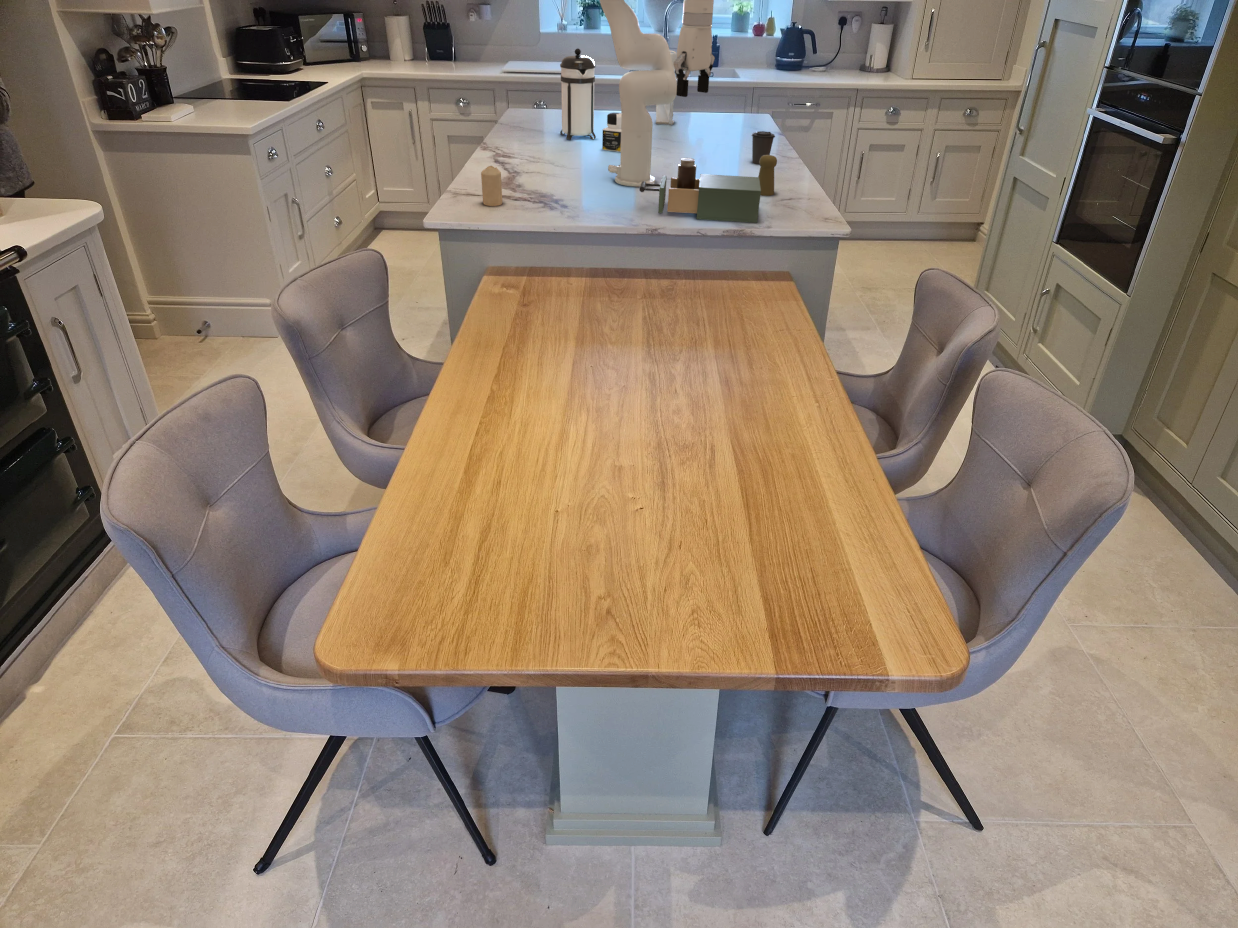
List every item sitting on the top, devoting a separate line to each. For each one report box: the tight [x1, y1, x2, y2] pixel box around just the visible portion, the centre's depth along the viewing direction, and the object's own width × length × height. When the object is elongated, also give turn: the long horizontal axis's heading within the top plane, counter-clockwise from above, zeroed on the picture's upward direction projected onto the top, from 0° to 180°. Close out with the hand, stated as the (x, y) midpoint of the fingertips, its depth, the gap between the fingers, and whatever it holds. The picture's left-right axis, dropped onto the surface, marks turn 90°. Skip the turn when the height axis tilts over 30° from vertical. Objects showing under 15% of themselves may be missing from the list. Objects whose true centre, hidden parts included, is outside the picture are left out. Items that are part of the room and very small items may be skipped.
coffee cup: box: [751, 130, 776, 166], centre depth 277 cm, size 8×8×10 cm
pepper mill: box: [676, 157, 697, 189], centre depth 225 cm, size 5×5×12 cm
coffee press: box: [559, 48, 597, 141], centre depth 299 cm, size 17×16×30 cm
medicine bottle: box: [601, 112, 621, 153], centre depth 287 cm, size 7×7×12 cm
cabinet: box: [696, 173, 762, 224], centre depth 226 cm, size 17×15×9 cm
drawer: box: [639, 175, 700, 214], centre depth 227 cm, size 21×13×7 cm, turn 84°
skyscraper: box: [655, 49, 677, 126], centre depth 326 cm, size 8×8×28 cm
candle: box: [480, 165, 503, 207], centre depth 227 cm, size 6×6×10 cm
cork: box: [757, 154, 778, 197], centre depth 244 cm, size 6×6×11 cm
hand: (692, 94), depth 214 cm, fingers open, 9 cm apart
